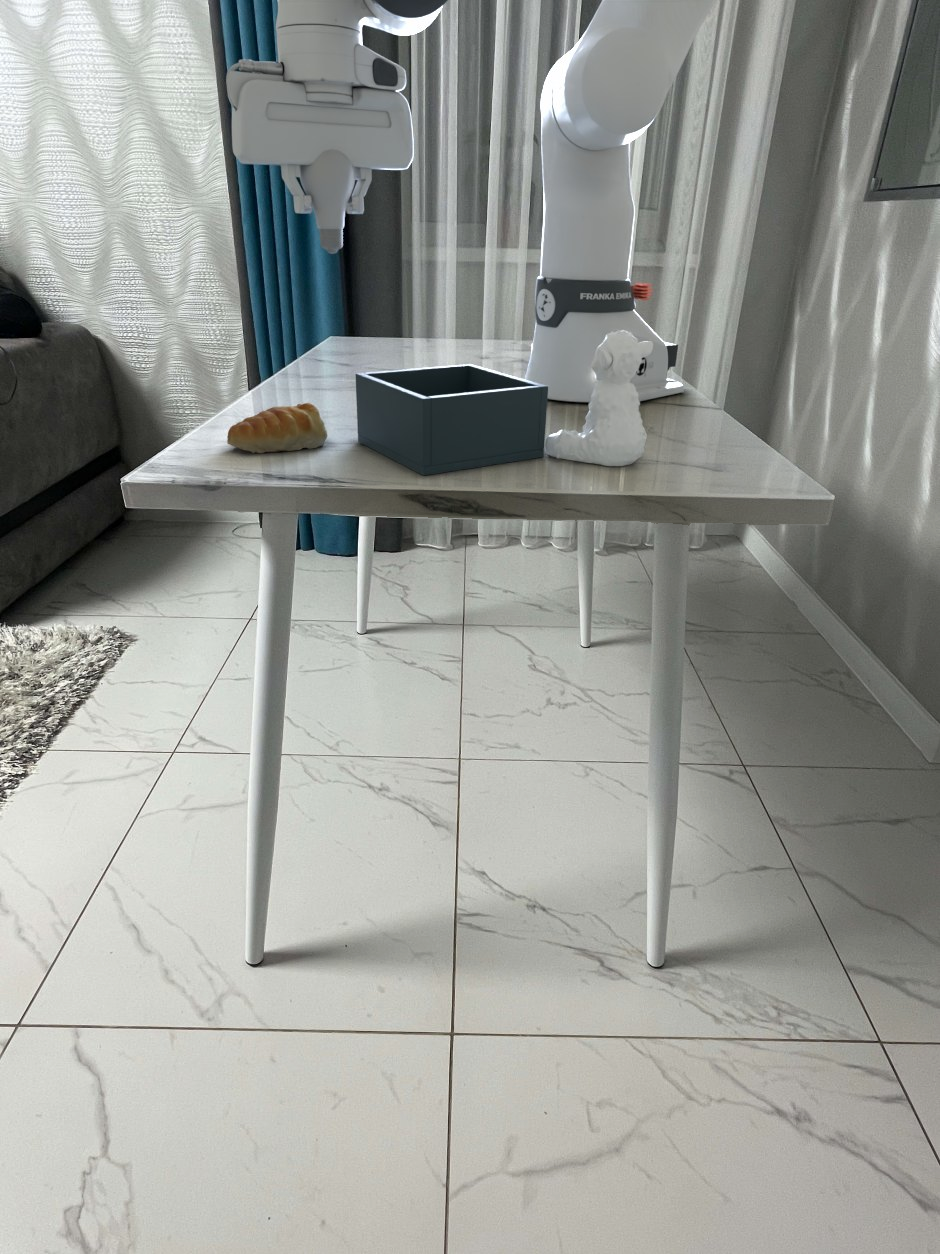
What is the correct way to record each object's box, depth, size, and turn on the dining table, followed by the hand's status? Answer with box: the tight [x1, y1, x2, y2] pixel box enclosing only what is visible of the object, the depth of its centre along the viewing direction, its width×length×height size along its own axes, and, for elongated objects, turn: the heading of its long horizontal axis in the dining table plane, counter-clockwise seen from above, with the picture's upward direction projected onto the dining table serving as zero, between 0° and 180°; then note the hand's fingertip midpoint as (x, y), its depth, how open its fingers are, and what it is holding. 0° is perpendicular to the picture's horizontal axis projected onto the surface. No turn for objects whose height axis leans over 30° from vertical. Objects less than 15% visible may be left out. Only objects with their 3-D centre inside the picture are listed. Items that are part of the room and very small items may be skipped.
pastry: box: [226, 402, 328, 454], centre depth 80 cm, size 9×7×4 cm
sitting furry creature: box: [544, 330, 653, 467], centre depth 77 cm, size 10×9×12 cm
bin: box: [354, 363, 549, 476], centre depth 80 cm, size 14×14×7 cm
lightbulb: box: [299, 149, 356, 255], centre depth 91 cm, size 6×6×11 cm
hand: (330, 213), depth 92 cm, fingers closed on lightbulb, 5 cm apart
